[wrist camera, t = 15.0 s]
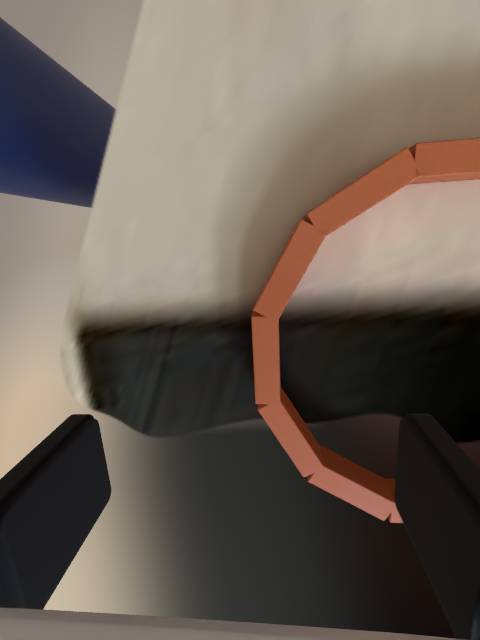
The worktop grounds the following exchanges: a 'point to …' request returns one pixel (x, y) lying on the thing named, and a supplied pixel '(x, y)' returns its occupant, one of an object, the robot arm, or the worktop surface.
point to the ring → (273, 404)
